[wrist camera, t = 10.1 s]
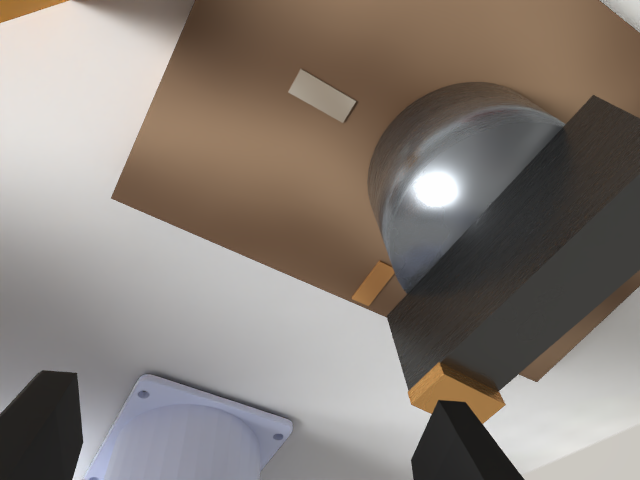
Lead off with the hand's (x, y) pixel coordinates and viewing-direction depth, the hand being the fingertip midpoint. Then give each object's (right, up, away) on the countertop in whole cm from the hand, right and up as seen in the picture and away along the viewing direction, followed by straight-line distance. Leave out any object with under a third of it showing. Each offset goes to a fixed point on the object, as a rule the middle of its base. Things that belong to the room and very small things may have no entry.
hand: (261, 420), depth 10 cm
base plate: (+6, +7, +9) cm, 12 cm away
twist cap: (+6, +6, +7) cm, 11 cm away
